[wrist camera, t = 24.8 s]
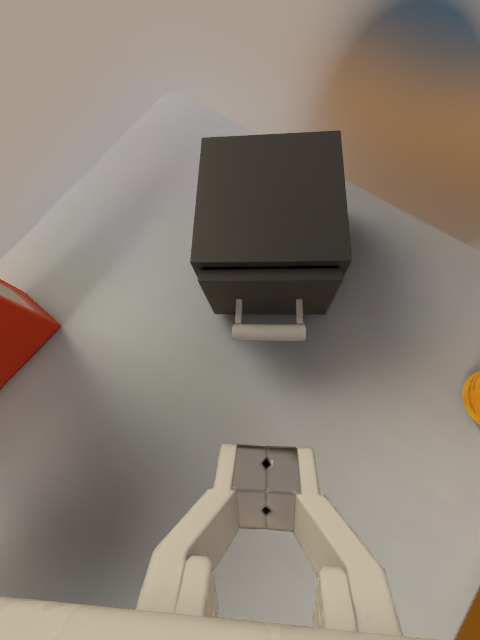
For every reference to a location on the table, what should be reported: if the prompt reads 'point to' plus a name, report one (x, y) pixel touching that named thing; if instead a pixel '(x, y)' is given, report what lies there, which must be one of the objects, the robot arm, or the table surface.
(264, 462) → the robot arm
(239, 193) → the dark grey open box
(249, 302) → the drawer
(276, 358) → the table surface
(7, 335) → the file binder
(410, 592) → the table surface
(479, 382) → the vitamin bottle
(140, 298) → the table surface
